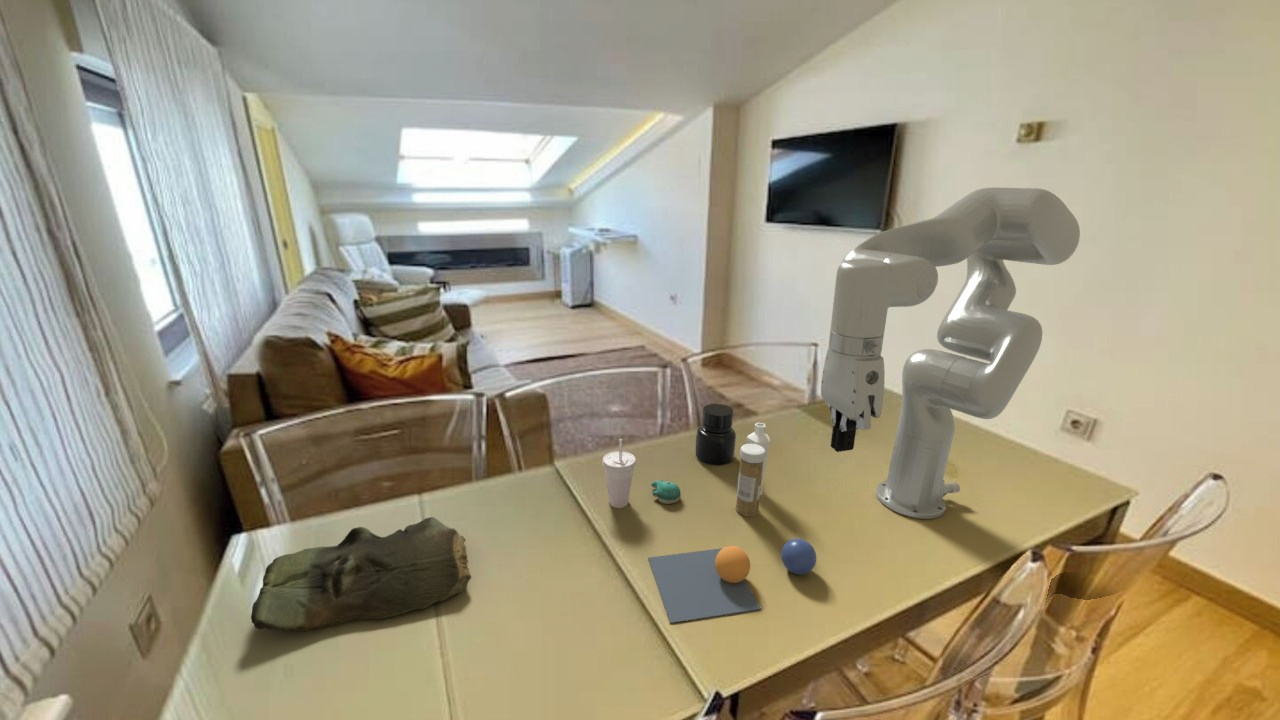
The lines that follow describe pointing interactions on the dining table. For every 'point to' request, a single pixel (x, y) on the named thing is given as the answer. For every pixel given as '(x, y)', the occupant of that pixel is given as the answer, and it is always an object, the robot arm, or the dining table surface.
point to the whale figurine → (666, 492)
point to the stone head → (363, 578)
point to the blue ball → (798, 556)
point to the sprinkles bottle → (750, 479)
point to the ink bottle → (716, 435)
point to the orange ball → (732, 564)
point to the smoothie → (619, 476)
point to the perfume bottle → (760, 442)
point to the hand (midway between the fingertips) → (841, 448)
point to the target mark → (698, 587)
